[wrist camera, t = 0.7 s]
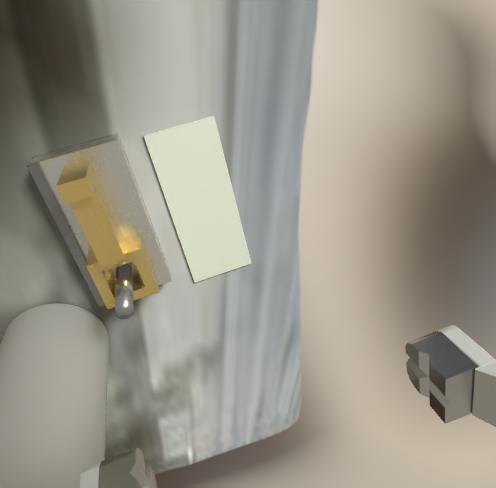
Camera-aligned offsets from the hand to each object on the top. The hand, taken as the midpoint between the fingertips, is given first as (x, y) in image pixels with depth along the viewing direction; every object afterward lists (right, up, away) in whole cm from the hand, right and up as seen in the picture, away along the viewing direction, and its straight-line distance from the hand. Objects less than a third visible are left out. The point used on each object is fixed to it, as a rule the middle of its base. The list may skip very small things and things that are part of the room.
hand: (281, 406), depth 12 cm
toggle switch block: (-17, +8, +37) cm, 41 cm away
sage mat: (-6, +9, +39) cm, 41 cm away
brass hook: (-17, +6, +34) cm, 38 cm away
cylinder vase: (-26, -8, +42) cm, 50 cm away
